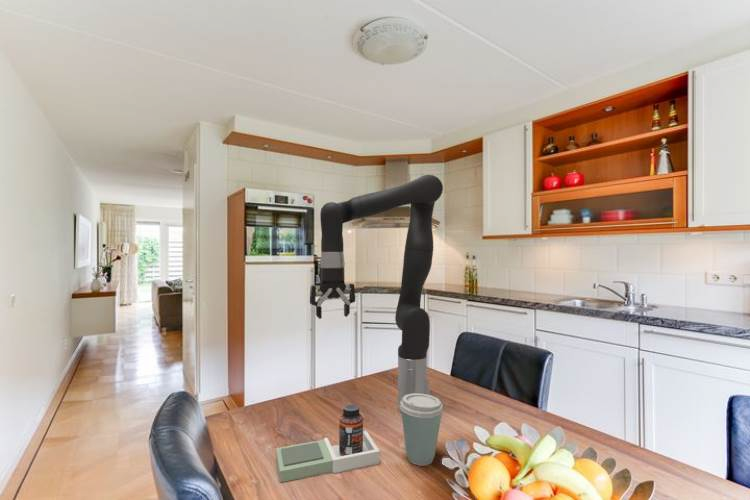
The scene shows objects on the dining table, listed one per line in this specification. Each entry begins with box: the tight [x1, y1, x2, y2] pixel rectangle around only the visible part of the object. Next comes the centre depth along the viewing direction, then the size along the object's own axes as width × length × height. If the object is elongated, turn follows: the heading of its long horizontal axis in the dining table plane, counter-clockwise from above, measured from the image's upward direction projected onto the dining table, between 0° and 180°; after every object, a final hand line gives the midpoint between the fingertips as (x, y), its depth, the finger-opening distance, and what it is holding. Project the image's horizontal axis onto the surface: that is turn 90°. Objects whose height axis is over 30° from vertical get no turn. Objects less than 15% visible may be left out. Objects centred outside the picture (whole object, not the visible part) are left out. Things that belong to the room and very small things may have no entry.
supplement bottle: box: [338, 403, 364, 456], centre depth 92 cm, size 6×6×11 cm
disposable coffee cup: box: [399, 393, 444, 467], centre depth 90 cm, size 11×11×15 cm
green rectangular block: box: [275, 439, 333, 484], centre depth 88 cm, size 12×10×3 cm
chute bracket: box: [323, 430, 381, 474], centre depth 91 cm, size 12×10×3 cm
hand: (332, 317), depth 116 cm, fingers open, 8 cm apart
